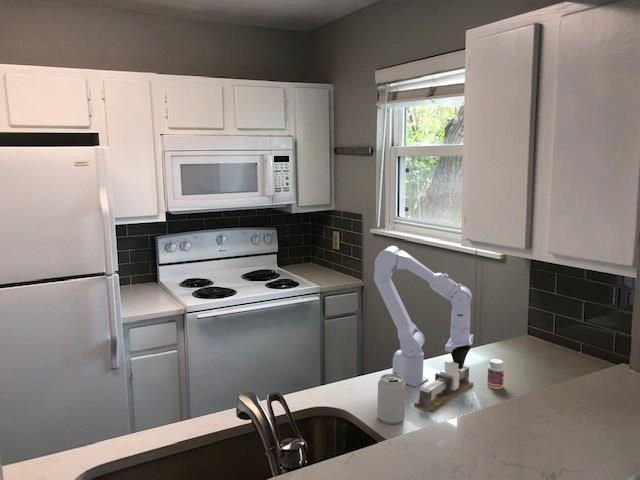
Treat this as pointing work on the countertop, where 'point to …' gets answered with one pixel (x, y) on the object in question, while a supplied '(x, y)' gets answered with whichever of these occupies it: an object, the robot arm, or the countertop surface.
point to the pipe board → (434, 396)
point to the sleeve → (451, 373)
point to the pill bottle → (495, 374)
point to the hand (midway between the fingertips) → (458, 368)
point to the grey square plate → (447, 382)
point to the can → (391, 398)
